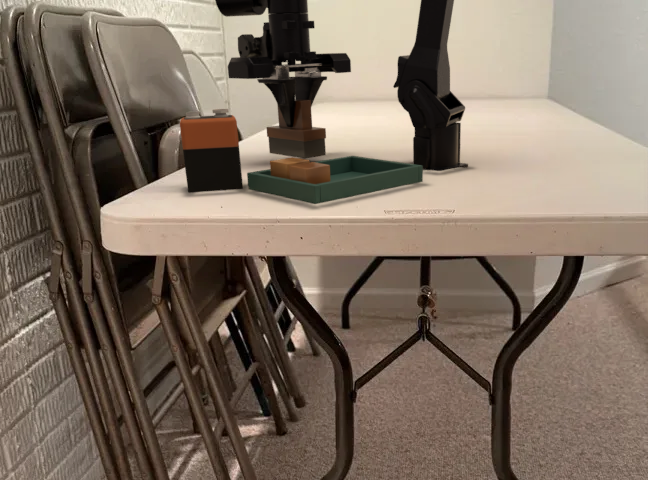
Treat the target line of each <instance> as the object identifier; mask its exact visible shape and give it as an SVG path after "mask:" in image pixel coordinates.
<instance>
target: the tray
mask: <svg viewBox="0 0 648 480" xmlns="http://www.w3.org/2000/svg"><path fill="white" fill-rule="evenodd" d="M314 162H315V163H321V164H327V165H330V182H325V183H319V184H311V183H306V182H301V181H296V180H291V179H285V178H280V177H275V176H271V168H268V169H261V170H257V171H255V170H254V171H249V172H247V173H246V177H247V188H248V190H251V191H255V192H259V193H264V194H267V195H274V196H277V197H281V198H286V199H290V200H294V201H300V202H304V203H310V204H312V205H317V204H323V203H328V202H332V201H338V200H342V199H346V198H352V197H356V196H361V195H365V194H370V193H375V192H380V191H384V190H389V189H394V188H398V187H404V186H409V185H412V184H418V183H422V182H423V181H424V180H423V179H424V173H423V171H424V169H423V166H422V165H416V164H413V163H407V162H401V161H394V160H388V159H387V160H386V159H379V158H372V157H366V156H365V157H364V156H359V155H358V156H357V155H348V156H347V155H346V156H342V157H335V158H329V159H324V160H317V161H314Z"/></svg>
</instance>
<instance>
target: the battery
mask: <svg viewBox="0 0 648 480" xmlns="http://www.w3.org/2000/svg"><path fill="white" fill-rule="evenodd" d="M228 113H229V108H214V109H213V108H212V114H214V115H204V116H203V115H201V116H200V112H199V111H195V110H194V111H186V112H185V115H186V116H184V117H182V118H181V119H180V120H179V128H180V136H181V137H180V138H181V144H182V154H183V161H184V169H185V178H186V185H187V192H188V193H203V192H204V193H205V192H218V191H219V192H220V191H232V190H243V189H244V185H243V184H244V183H243V174H242V164H241V163H242V162H241V153H240V142H239V133H238V121H237V119H236V117H235V116H234V115H233V114H228Z"/></svg>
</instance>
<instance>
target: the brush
mask: <svg viewBox="0 0 648 480" xmlns="http://www.w3.org/2000/svg"><path fill="white" fill-rule="evenodd" d="M276 105H277V116H278V117H277V118H278V125H270V126H266V127H265V128H266V138H267V137H268V150H269V154H272V155H278V156H284V157H290V158H292V157H293V158H299V159H305V160H307V159H312V158H317V157H323V156H324V157H325V156H327V155H326V154H327V153H326V139H327V130H326V128H325V127H320V126H319V127H317V126H313V115H312V106H311V100H298V99H295V112H294V123H293V127H287V126H286V123H285V121H284V118H283V116H282V114H281V111H280V109H279V106H278V104H277V103H276Z"/></svg>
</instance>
